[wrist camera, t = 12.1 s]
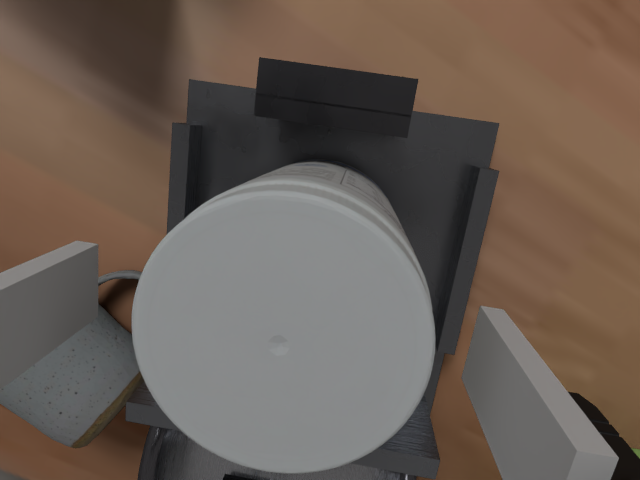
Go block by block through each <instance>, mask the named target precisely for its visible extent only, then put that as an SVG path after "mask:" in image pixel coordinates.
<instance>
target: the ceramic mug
mask: <svg viewBox="0 0 640 480" xmlns="http://www.w3.org/2000/svg"><path fill="white" fill-rule="evenodd" d="M141 274H142V272H139V271H135V270H124V271H117V272H112V273H109V274H105V275H103V276H101V277H99V278H98V286H99V285H101V284H102V283H104V282H106V281H108V280H112V279H121V278H126V279H138V280H139V279H140V276H141ZM143 382H144V379H143V377H142V374H141V372H140V369H139V366H138V363H137V359H136V356H135V351H134V346H133V338H132V334H131V333H129V332H128V331H127V330H126V329H124V328H123V327H122V326H121V325H120V324H119V323H118V322H117V321H116V320H115V319H114V318H113V317H112V316H111V315H110V314H109V313H108V312H107V311H106V310H105V309H104V308H102V307H101V306H100V305H99V304H98V317H97V318H96V319H94V320H93V321H92V322H90V323H89V324H88V325H86V326H85V327H84V328H82V329H81V330H80V331H78V332H77V333H76V334H74V335H73V336H72V337H70V338H69V339H68V340H66V341H65V342H64V343H62V344H61V345H60V346H58V347H57V348H56V349H54V350H53V351H51V352H50V353H49V354H47V355H46V356H45V357H43V358H42V359H41V360H39V361H38V362H37V363H35V364H34V365H33V366H31V367H30V368H29V369H27V370H26V371H25V372H23V373H22V374H21V375H19V376H18V377H17V378H15V379H14V380H13V381H11V382H10V383H9V384H7V385H6V386H5V387H3V388H2V389H1V390H0V404H2V405H3V406H5V407H6V408H7V409H9V410H10V411H12V412H13V413H15V414H16V415H18V416H19V417H21V418H22V419H24V420H26V421H27V422H28V423H30V424H31V425H33V426H34V427H36V428H37V429H38V430H39V431H41V432H42V433H44V434H45V435H47V436H48V437H50V438H51V439H53V440H55V441H57V442H60V443H62V444H64V445H66V446H69V447H72V448H81V447H84V446H86V445H88V444H89V443H90V442H91V441H92V440H93V439H94V438H95V437H97V436H98V435H99V434H100V432H101V431H102V430H103V429H104V428H105V427H106V426H107V425H108V424H109V423H110V422H111V420H112V419H113V418H114V417H115V416H116V415H117V414H118V413H119V412H120V411H121V409H122V408H123V407H124V406H125V405H126V401H127V400H128V399H129V398H130V397H131V395H132V394H133V393H134V392H135V391H136V390H137V389H138V387H139V386H140V385H141V384H142V383H143Z"/></svg>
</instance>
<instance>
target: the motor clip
mask: <svg viewBox="0 0 640 480" xmlns="http://www.w3.org/2000/svg"><path fill="white" fill-rule="evenodd" d="M417 83H418V79H413V78H406V77H398V76H391V75H384V74H377V73H369V72H362V71H355V70H348V69H340V68H333V67H326V66H319V65H311V64H304V63H297V62H290V61H282V60H275V59H268V58H261V57H259V66H258V76H257V87H256V89H254V88H247V87H240V86H233V85H226V84H219V83H212V82H205V81H198V80H191V79H189V90H188V107H187V123H172V142H171V161H170V181H169V200H168V219H167V234H168V233H169V232H170V231H171V230H172V229H173V228H174V227H175V226H177V225H178V224H179V223H180V222H181V221H183V220H184V219H185V218H186V217H187V216H188V215H189V214H190V213H192V212H193V211H194V210H196V209H197V208H198V207H199V206H201V205H202V204H204V203H205V202H207V201H208V200H210V199H212V198H213V197H215V196H217V195H219V194H221V193H223V192H225V191H227V190H230V189H232V188H234V187H236V186H239V185H241V184H243V183H245V182H248V181H250V180H252V179H255V178H257V177H259V176H262V175H264V174H267V173H269V172H272V171H274V170H277V169H279V168H282V167H284V166H287V165H290V164H292V163H295V162H299V161H304V160H311V159H324V160H332V161H338V162H341V163H344V164H347V165H349V166H351V167H353V168H355V169H357V170H359V171H361V172H362V173H364V174H365V175H367V176H368V177H369V178H371V179H372V180H373V181H374V182H375V183H376V184H377V185H378V186H379V187H380V189H381V190H382V191H383V193H384V194H385V195H386V197H387V198H388V200H389V202H390V204H391V206H392V208H393V210H394V212H395V213H396V215H397V217H398V220H399V222H400V224H401V226H402V228H403V230H404V232H405V234H406V236H407V238H408V240H409V242H410V244H411V246H412V248H413V250H414V253H415V255H416V257H417V260H418V262H419V264H420V266H421V269H422V271H423V273H424V276H425V279H426V282H427V285H428V289H429V293H430V298H431V304H432V312H433V317H434V325H435V338H436V340H435V356H434V362H433V367H432V371H431V376H430V379H429V382H428V385H427V388H426V390H425V392H424V395H423V397H422V399H421V401H420V402H419V404H418V406H417V407H416V409H415V411H414V412H413V414H412V415H411V417H410V418H409V419H408V420H407V422H406V423H405V424H404V425H403V426H402V427H401V429H400V430H399V431H398V432H397V433H396V434H395V435H394V436H393V437H391V438H390V439H389V440H388V441H387V442H385V443H384V444H383V445H382V446H380V447H379V448H377V449H376V450H374V451H373V452H371V453H369V454H367V455H365V456H364V457H362V458H360V459H358V460H355V461H353V462H351V463H348V464H346V465H343V466H340V467H337V468H333V469H329V470H325V471H319V472H312V473H302V474H284V473H273V472H266V471H261V470H257V469H252V468H248V467H244V466H241V465H239V464H236V463H233V462H231V461H228V460H226V459H224V458H221V457H219V456H217V455H216V454H214V453H212V452H210V451H208V450H206V449H205V448H203V447H202V446H200V445H198V444H197V443H196V442H194V441H193V440H192V439H190V438H189V437H188V436H187V435H185V434H184V433H183V432H182V431H181V430H180V429H179V428H178V427H177V426H176V425H175V424H174V423H173V422H172V421H171V420H170V419H169V418H168V417H167V416H166V414H165V413H164V412H163V411H162V410H161V408H160V407H159V405H158V404H157V402H156V401H155V399H154V398H153V396H152V394H151V393H150V391H149V389H148V387H147V385H146V383H145V381H144V382H143V383H142V384H141V385H140V386H139V387H138V389H137V390H136V391H135V392H134V393H133V394H132V395H131V397H130V398H129V399H128V400H127V401H126V421H130V422H135V423H140V424H146V425H150V428H149V432H148V435H147V438H146V442H145V446H144V449H143V454H142V458H141V463H140V468H139V474H138V480H416V476H420V477H425V478H431V479H436V475H437V471H438V467H439V463H440V458H439V453H438V449H437V445H436V441H435V436H434V432H433V428H432V423H431V419H430V412H431V408H432V404H433V400H434V396H435V391H436V387H437V383H438V379H439V375H440V370H441V366H442V362H443V358H444V354H445V353H447V354H453V355H454V354H455V350H456V346H457V341H458V337H459V333H460V329H461V325H462V321H463V317H464V313H465V309H466V305H467V301H468V297H469V292H470V288H471V284H472V280H473V276H474V272H475V268H476V264H477V260H478V256H479V252H480V248H481V243H482V239H483V235H484V231H485V227H486V223H487V219H488V215H489V211H490V207H491V203H492V199H493V194H494V190H495V186H496V182H497V178H498V174H499V171H498V170H494V169H491V168H489V165H490V161H491V156H492V152H493V148H494V144H495V140H496V135H497V131H498V127H499V123H493V122H486V121H479V120H472V119H465V118H458V117H451V116H444V115H437V114H430V113H423V112H416V111H412V110H413V105H414V99H415V94H416V89H417Z"/></svg>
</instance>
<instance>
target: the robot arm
mask: <svg viewBox="0 0 640 480" xmlns="http://www.w3.org/2000/svg"><path fill="white" fill-rule="evenodd" d="M97 317H98V244H95V243H88V242H82V241H75V242H72V243H70V244H68V245H65V246H63V247H61V248H58V249H56V250H53V251H51V252H49V253H46V254H44V255H42V256H39V257H37V258H34V259H32V260H30V261H27V262H25V263H23V264H20V265H18V266H16V267H13V268H11V269H8V270H6V271H4V272H1V273H0V390H1V389H2V388H3V387H5V386H6V385H7V384H9V383H10V382H11V381H13V380H14V379H15V378H17V377H18V376H19V375H21V374H22V373H23V372H25V371H26V370H27V369H29V368H30V367H31V366H33V365H34V364H35V363H37V362H38V361H39V360H41V359H42V358H43V357H45V356H46V355H47V354H49V353H50V352H51V351H53V350H54V349H56V348H57V347H58V346H60V345H61V344H62V343H64V342H65V341H66V340H68V339H69V338H70V337H72V336H73V335H74V334H76V333H77V332H78V331H80V330H81V329H82V328H84V327H85V326H86V325H88V324H89V323H90V322H92V321H93V320H94V319H96V318H97ZM462 380H463V383H464V385H465V388H466V390H467V393H468V395H469V398H470V400H471V403H472V405H473V408H474V410H475V412H476V415H477V417H478V420H479V422H480V425H481V427H482V430H483V432H484V435H485V437H486V440H487V442H488V445H489V447H490V449H491V452H492V454H493V457H494V459H495V462H496V464H497V467H498V469H499V472H500V474H501V477H502V479H503V480H640V458H639V457H638V456H637V455H636V454H635V452H634V451H633V450H632V449H631V448H630V447H629V445H628V444H627V443H626V442H625V441H624V439H623V438H622V437H619V433H618V432H617V431H616V430H615V429H614V427H613V426H612V425H609V421H608V420H607V419H606V418H605V417H604V415H603V414H602V413H601V412H600V411H599V410H598V408H597V407H596V406H594V405H593V404H592V403H590V402H589V401H588V400H586V399H585V398H584V397H582V396H581V395H580V394H578V393H572V392H567V391H566V389H565V388H564V387H563V385H562V384H561V383H560V382H559V380H558V379H557V378H556V376H555V375H554V374H553V373H552V371H551V370H550V369H549V367H548V366H547V365H546V364H545V362H544V361H543V360H542V358H541V357H540V356H539V355H538V353H537V352H536V351H535V349H534V348H533V347H532V346H531V344H530V343H529V342H528V340H527V339H526V338H525V337H524V335H523V334H522V333H521V331H520V330H519V329H518V328H517V326H516V325H515V324H514V322H513V321H512V320H511V319H510V317H509V316H508V315H507V313H506V312H505V311H504V310H503V309H497V308H491V307H485V306H480V309H479V312H478V316H477V320H476V324H475V328H474V332H473V336H472V339H471V343H470V347H469V351H468V355H467V359H466V362H465V366H464V370H463V374H462Z"/></svg>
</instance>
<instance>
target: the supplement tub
mask: <svg viewBox="0 0 640 480" xmlns="http://www.w3.org/2000/svg"><path fill="white" fill-rule="evenodd" d="M132 338H133V346H134V351H135V356H136V359H137V363H138V366H139V369H140V372H141V374H142V377H143V379H144V381H145V383H146V385H147V387H148V389H149V391H150V393H151V394H152V396H153V398H154V399H155V401H156V402H157V404H158V405H159V407H160V408H161V410H162V411H163V412H164V413H165V414H166V416H167V417H168V418H169V419H170V420H171V421H172V422H173V423H174V424H175V425H176V426H177V427H178V428H179V429H180V430H181V431H182V432H183V433H184V434H185V435H187V436H188V437H189V438H190V439H192V440H193V441H194V442H196V443H197V444H198V445H200V446H202V447H203V448H205V449H206V450H208V451H210V452H212V453H214V454H216V455H217V456H219V457H221V458H224V459H226V460H228V461H231V462H233V463H236V464H239V465H241V466H244V467H248V468H252V469H257V470H261V471H266V472H273V473H284V474H302V473H312V472H319V471H325V470H329V469H333V468H337V467H340V466H343V465H346V464H348V463H351V462H353V461H355V460H358V459H360V458H362V457H364V456H365V455H367V454H369V453H371V452H373V451H374V450H376V449H377V448H379V447H380V446H382V445H383V444H384V443H385V442H387V441H388V440H389V439H390V438H391V437H393V436H394V435H395V434H396V433H397V432H398V431H399V430H400V429H401V427H402V426H403V425H404V424H405V423H406V422H407V420H408V419H409V418H410V417H411V415H412V414H413V412H414V411H415V409H416V407H417V406H418V404H419V402H420V401H421V399H422V397H423V395H424V392H425V390H426V388H427V385H428V382H429V379H430V376H431V371H432V367H433V362H434V356H435V340H436V338H435V325H434V317H433V312H432V304H431V298H430V293H429V289H428V285H427V282H426V279H425V276H424V273H423V271H422V269H421V266H420V264H419V262H418V260H417V257H416V255H415V253H414V250H413V248H412V246H411V244H410V242H409V240H408V238H407V236H406V234H405V232H404V230H403V228H402V226H401V224H400V222H399V220H398V217H397V215H396V213H395V212H394V210H393V208H392V206H391V204H390V202H389V200H388V198H387V197H386V195H385V194H384V193H383V191H382V190H381V189H380V187H379V186H378V185H377V184H376V183H375V182H374V181H373V180H372V179H371V178H369V177H368V176H367V175H365V174H364V173H362V172H361V171H359V170H357V169H355V168H353V167H351V166H349V165H347V164H344V163H341V162H338V161H332V160H324V159H311V160H304V161H299V162H295V163H292V164H290V165H287V166H284V167H282V168H279V169H277V170H274V171H272V172H269V173H267V174H264V175H262V176H259V177H257V178H255V179H252V180H250V181H248V182H245V183H243V184H241V185H239V186H236V187H234V188H232V189H230V190H227V191H225V192H223V193H221V194H219V195H217V196H215V197H213V198H212V199H210V200H208V201H207V202H205V203H204V204H202V205H201V206H199V207H198V208H197V209H196V210H194V211H193V212H192V213H190V214H189V215H188V216H187V217H186V218H185V219H184V220H183V221H181V222H180V223H179V224H178V225H177V226H175V227H174V228H173V229H172V230H171V231H170V232H169V233H168V234H167V235H166V236H165V237H164V238H163V240H162V241H161V242H160V243H159V244H158V246H157V247H156V249H155V250H154V251H153V253H152V254H151V256H150V258H149V260H148V262H147V263H146V265H145V267H144V269H143V272H142V274H141V276H140V279H139V282H138V285H137V288H136V292H135V296H134V300H133V307H132Z"/></svg>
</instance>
